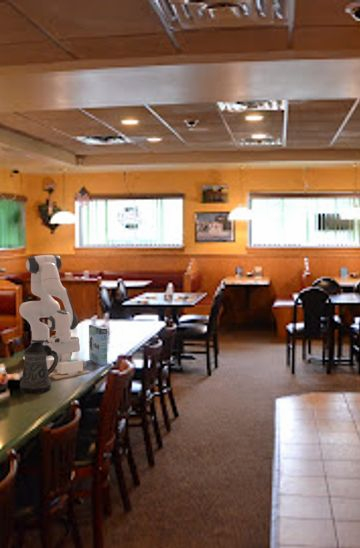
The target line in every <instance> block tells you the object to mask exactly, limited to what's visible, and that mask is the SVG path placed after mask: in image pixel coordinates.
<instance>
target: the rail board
mask: <svg viewBox="0 0 360 548" xmlns="http://www.w3.org/2000/svg"><path fill="white" fill-rule="evenodd" d="M46 361H47V368H48V369H49V368H50V367H51V366H52V364H53V362H54V358H48V359H46ZM85 374H90V370H87V369H84V367H83V360H82V359H80V358H79V359H78V358H76V359H74V358H73V359H71V360H68V361H63V362H58V364H57V366H56V368H55V369H54V370H53V372H52V373H51V374H50V375H49V378H52V379H55V380H59V379H64V378H69V377H75V375H76V376H81V375H85Z"/></svg>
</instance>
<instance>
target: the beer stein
mask: <svg viewBox="0 0 360 548" xmlns="http://www.w3.org/2000/svg"><path fill="white" fill-rule="evenodd" d="M23 355H24V356H23V357H25V360H24V363H23V369H22V375H21V381H20V383H19V388H20V392H21V393H22V394H30V395H32V394H43V393H47V392H49V391H51V389H52V381H51V379H50V378H51V377H49V375H50V374H51V373H52V372H53V370H54V369H55V368H56V366H57V364H58V355H57V353H56V352H55V351H53V350H51V348H50V347H49V346H48V345H42V343H32V344H31V343H30V346H29V347H27V348H26V349H24V351H23ZM46 356H53V357H54V362H53V364H52V366H51V367H50V368H49V369H48V368H47V361H46Z"/></svg>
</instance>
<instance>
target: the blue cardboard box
mask: <svg viewBox="0 0 360 548" xmlns="http://www.w3.org/2000/svg"><path fill="white" fill-rule="evenodd" d="M88 352H89V353H88V357H89V361H92V363H95V364H97V365H99V366H108V328H106V327H103V326H101V325H98V324H89V325H88Z"/></svg>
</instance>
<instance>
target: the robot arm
mask: <svg viewBox="0 0 360 548" xmlns="http://www.w3.org/2000/svg"><path fill="white" fill-rule="evenodd" d="M62 266H63V265H62V258H61V257H60V255H58V254H42V255H35V256H34V255H33V256H29V257H28V258H27V259H26V262H25V267H26V270H27V272H29V273H30V274H31V275H30V291H31V293H32V295H34V296H36V297H38V298H40V300H31V301H30V300H29V301H26V302H22V303H21V304H20V305H19V309H18V310H19V314H20V317H22V318H23V319H24V320H26V321H27V323H28V324H29V325H30V329H31V339H30V345H31V344H32V343H42V345H48V346H49V347H50V348H51V350H53V351H55V352H56V353H57V355H58V356H59V354H64V353H70V360H72V356H73V353H78V352H80V350H81V348H80V347H81V345H80V337H79V336H76V335H75V336H72V331H71V330H75V329H76V328H77V327H78V324H79V318H78V316H77V314H76V312H75V309H74V306H73V303H72V300H71V297H70V294H69V291H68V289H67V288H66V287H64V286H63V284H62V281H61V278H60V277H61V276H60V274H59V271H60V270H61V269H62ZM54 297H55V298H58V299H59V300H60V301H61V302H62V304H63V306H64V309H61V306H60V303H59V301H57V300H55V299H54ZM43 318H47V321H46V323H45V322H42V321H40V319H43ZM50 331H52V332H53V331H55V335H53V336H50ZM48 358H54V357H53V356H46V359H48ZM22 360H24V361H25V356H23V357H22ZM58 362H61V359H60V358H59V357H58Z"/></svg>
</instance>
